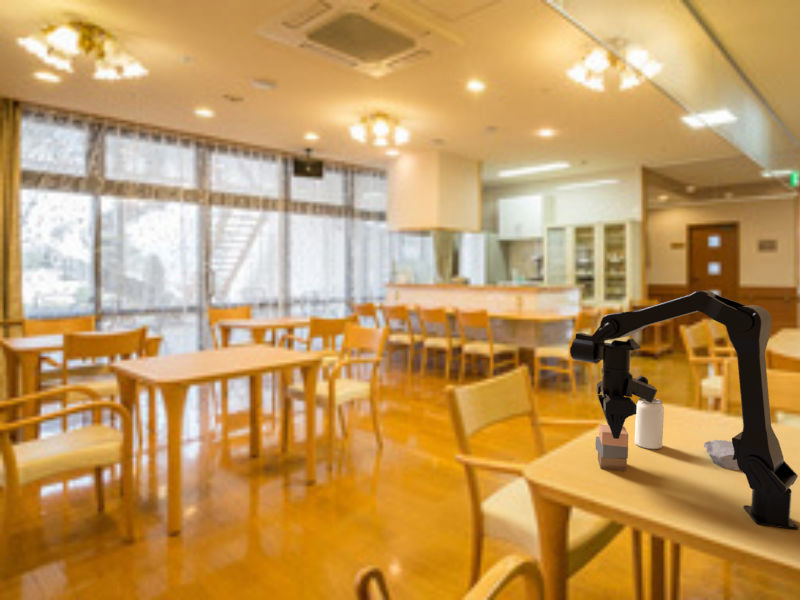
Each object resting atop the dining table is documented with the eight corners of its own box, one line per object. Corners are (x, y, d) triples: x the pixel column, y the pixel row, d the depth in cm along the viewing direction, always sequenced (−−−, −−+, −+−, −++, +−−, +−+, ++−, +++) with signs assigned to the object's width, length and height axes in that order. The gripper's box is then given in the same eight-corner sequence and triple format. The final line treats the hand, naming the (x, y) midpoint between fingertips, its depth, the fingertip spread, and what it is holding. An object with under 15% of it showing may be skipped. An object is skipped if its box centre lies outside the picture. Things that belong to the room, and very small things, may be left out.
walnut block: (626, 472, 110) (626, 459, 110) (600, 469, 111) (601, 456, 111) (622, 462, 115) (622, 450, 115) (597, 460, 117) (598, 448, 116)
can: (647, 451, 122) (649, 404, 121) (628, 442, 128) (630, 398, 127) (668, 448, 124) (670, 403, 123) (648, 439, 130) (650, 396, 129)
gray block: (627, 458, 110) (628, 445, 110) (602, 457, 111) (603, 444, 110) (619, 449, 116) (619, 437, 115) (595, 448, 116) (595, 436, 116)
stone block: (721, 477, 112) (769, 472, 110) (717, 457, 112) (765, 451, 110) (699, 459, 123) (741, 454, 122) (695, 440, 123) (738, 435, 122)
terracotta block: (627, 447, 109) (628, 434, 109) (601, 444, 111) (602, 431, 110) (623, 438, 114) (624, 426, 114) (599, 436, 116) (599, 424, 116)
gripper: (664, 378, 100) (661, 451, 101) (646, 361, 118) (643, 423, 119) (607, 374, 103) (604, 445, 104) (597, 358, 121) (595, 419, 122)
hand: (613, 432), depth 112 cm, fingers open, 8 cm apart
